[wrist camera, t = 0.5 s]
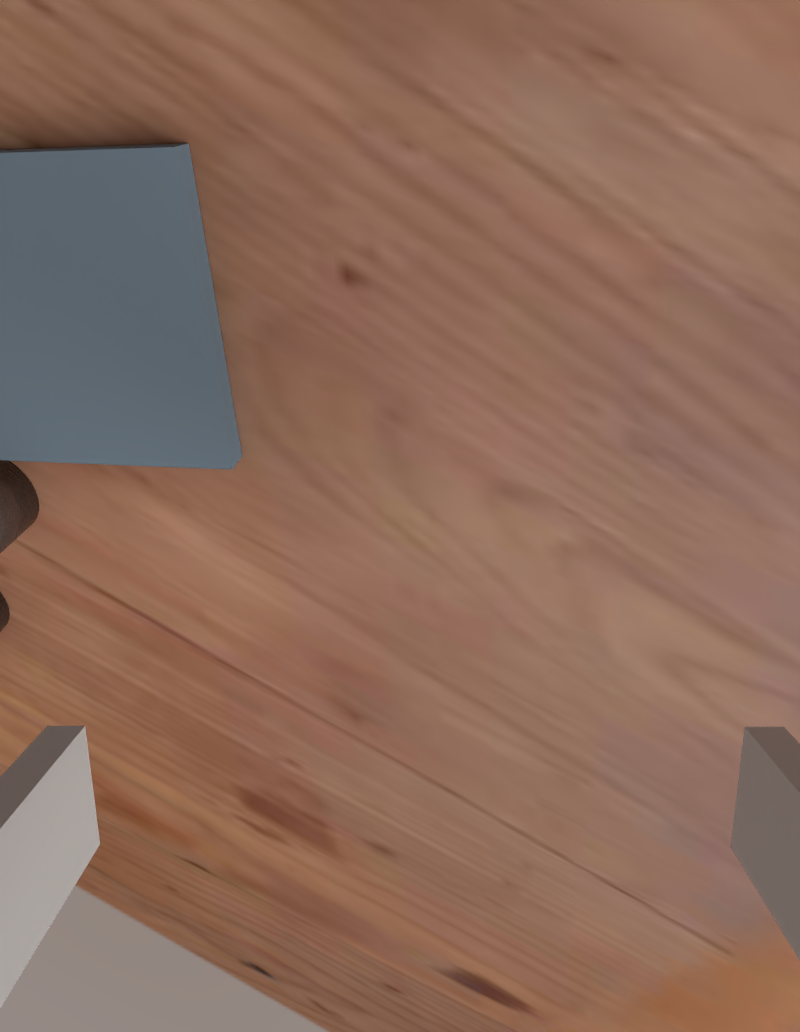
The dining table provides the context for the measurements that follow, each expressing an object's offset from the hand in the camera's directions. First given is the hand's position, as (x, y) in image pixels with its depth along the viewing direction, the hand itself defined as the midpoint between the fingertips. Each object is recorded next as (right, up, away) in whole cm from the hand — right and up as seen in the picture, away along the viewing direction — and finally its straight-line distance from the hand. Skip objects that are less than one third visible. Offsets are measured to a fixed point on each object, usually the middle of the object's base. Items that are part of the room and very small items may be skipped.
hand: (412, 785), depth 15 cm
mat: (-11, +12, +10) cm, 19 cm away
